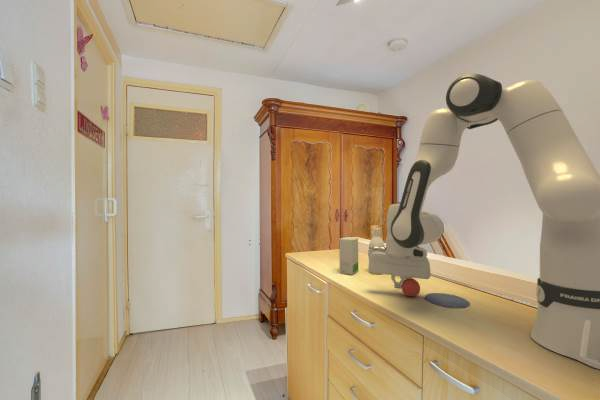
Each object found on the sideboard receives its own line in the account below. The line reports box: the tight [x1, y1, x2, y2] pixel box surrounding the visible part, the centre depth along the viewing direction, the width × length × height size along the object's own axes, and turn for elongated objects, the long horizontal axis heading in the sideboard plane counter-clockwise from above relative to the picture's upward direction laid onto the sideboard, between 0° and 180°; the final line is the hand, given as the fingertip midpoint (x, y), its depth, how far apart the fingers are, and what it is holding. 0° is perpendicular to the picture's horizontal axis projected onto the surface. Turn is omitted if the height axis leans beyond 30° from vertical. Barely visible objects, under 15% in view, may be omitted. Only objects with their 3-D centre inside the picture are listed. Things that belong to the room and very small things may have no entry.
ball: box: [401, 278, 421, 298], centre depth 95 cm, size 6×6×6 cm
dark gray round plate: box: [424, 292, 471, 309], centre depth 91 cm, size 13×13×1 cm
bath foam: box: [368, 227, 386, 275], centre depth 125 cm, size 7×7×20 cm
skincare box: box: [338, 236, 359, 276], centre depth 125 cm, size 8×7×16 cm
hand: (397, 288), depth 96 cm, fingers closed
